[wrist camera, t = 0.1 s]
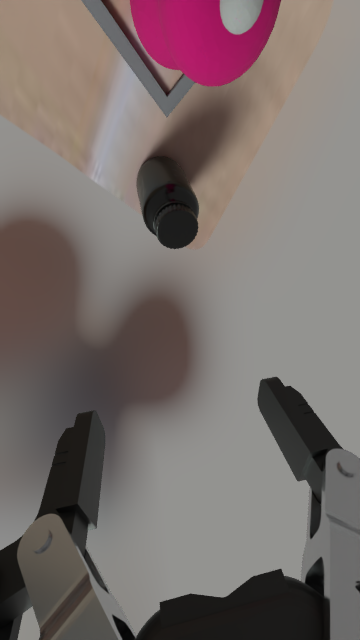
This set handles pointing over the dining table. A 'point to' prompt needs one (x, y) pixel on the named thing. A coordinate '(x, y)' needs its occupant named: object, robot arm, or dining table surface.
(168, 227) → the supplement bottle
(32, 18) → the dining table surface
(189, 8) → the pepper mill
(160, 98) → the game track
